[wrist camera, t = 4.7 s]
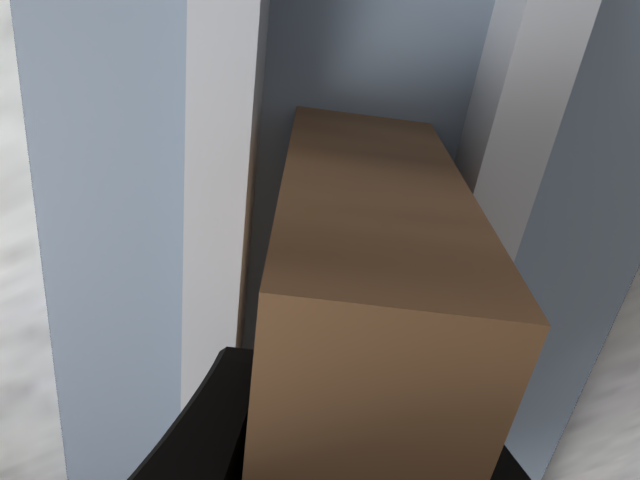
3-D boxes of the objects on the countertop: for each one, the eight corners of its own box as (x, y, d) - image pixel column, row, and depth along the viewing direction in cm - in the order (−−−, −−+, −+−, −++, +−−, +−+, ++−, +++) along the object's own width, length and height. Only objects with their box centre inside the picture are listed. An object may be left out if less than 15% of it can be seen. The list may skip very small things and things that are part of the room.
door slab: (354, 471, 14) (370, 788, 9) (255, 461, 14) (211, 778, 9) (433, 123, 10) (556, 326, 5) (293, 105, 10) (252, 291, 4)
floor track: (481, 549, 17) (523, 713, 14) (92, 512, 17) (24, 673, 13) (771, -140, 9) (1082, -202, 5) (19, -260, 8) (-226, -425, 5)
